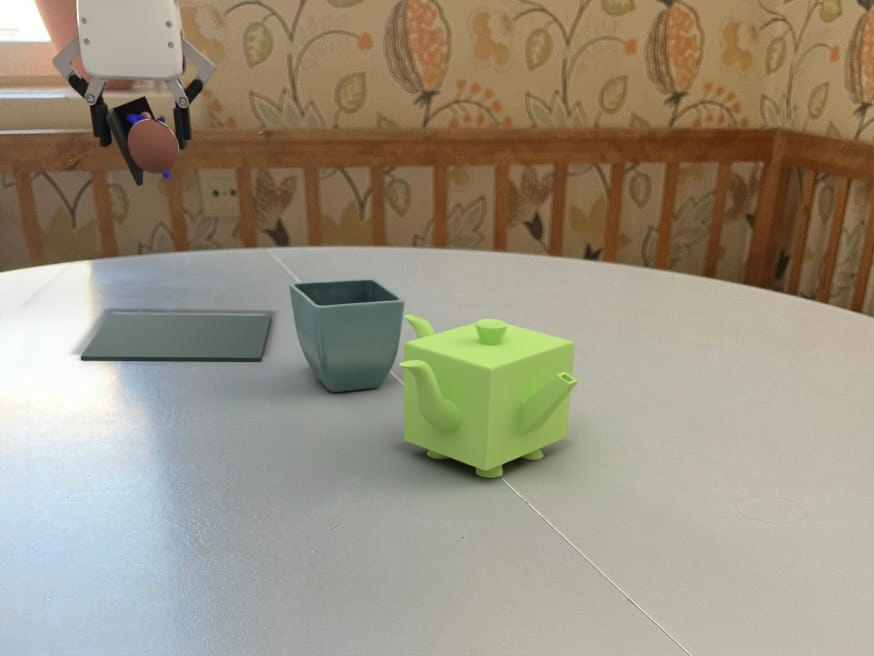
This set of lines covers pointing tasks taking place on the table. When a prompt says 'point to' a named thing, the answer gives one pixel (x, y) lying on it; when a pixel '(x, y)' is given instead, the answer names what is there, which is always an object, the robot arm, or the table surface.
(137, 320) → the placemat
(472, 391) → the kettle
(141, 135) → the character figurine
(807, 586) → the table surface
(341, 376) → the flower pot
